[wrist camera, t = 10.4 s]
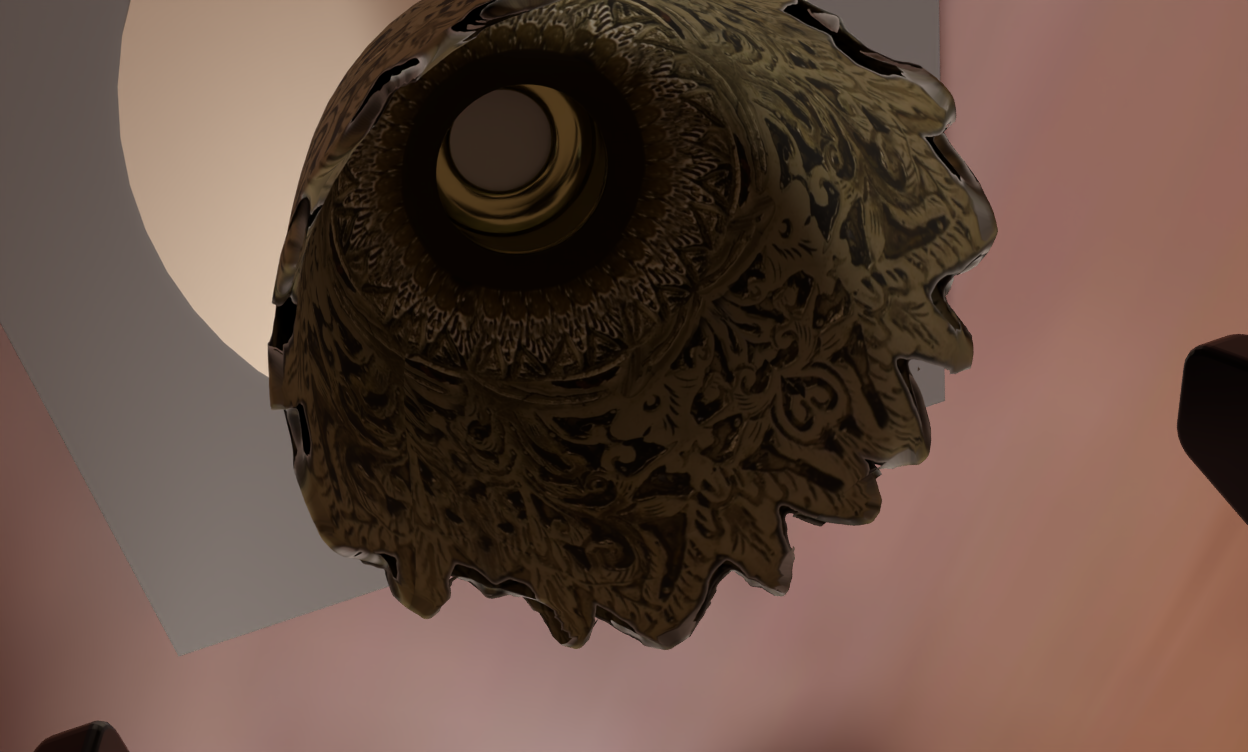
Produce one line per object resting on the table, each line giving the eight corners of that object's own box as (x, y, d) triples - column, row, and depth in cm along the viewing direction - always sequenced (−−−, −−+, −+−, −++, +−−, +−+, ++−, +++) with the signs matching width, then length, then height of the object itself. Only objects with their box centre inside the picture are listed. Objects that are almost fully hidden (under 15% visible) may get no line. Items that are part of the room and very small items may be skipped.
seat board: (915, 375, 24) (947, 403, 23) (181, 614, 21) (178, 660, 20) (886, -557, 16) (934, -582, 15) (-326, -364, 13) (-378, -377, 12)
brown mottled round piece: (168, 233, 17) (122, 540, 10) (402, -229, 15) (541, -234, 8) (570, 407, 20) (736, 721, 13) (798, 56, 18) (1123, 216, 12)
